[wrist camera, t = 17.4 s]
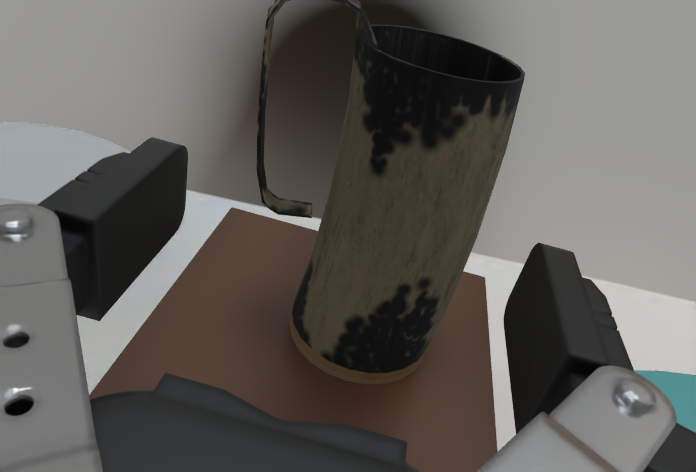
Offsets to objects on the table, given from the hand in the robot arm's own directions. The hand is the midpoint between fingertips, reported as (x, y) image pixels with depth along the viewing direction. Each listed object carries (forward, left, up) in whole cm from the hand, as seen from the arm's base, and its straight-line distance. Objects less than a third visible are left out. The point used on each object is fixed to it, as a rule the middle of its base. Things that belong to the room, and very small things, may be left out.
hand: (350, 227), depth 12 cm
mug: (0, +6, -8) cm, 10 cm away
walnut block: (0, +6, -13) cm, 14 cm away
